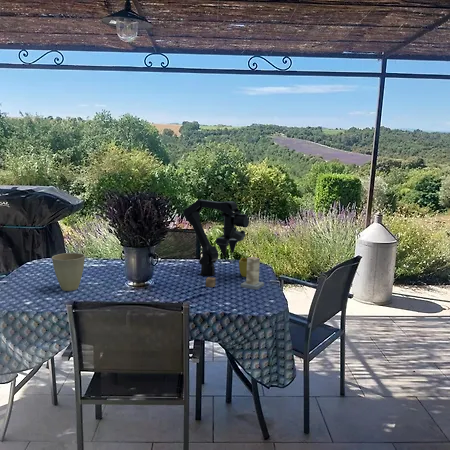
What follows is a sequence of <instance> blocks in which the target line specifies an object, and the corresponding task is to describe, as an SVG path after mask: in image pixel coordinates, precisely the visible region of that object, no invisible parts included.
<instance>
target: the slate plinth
mask: <svg viewBox="0 0 450 450" xmlns="http://www.w3.org/2000/svg"><path fill="white" fill-rule="evenodd" d="M264 286H265V282H263V281H259V283H258V284H255V285H251V284H247V283H246V280H245V281H244V282H242V283H240V288H245V289H250V290H259V289H261V288H262V287H264Z"/></svg>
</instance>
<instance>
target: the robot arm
mask: <svg viewBox="0 0 450 450" xmlns="http://www.w3.org/2000/svg"><path fill="white" fill-rule="evenodd" d="M203 208H205V209H213V210H218V211H219V212H222V214H220V216H219V217H223V227H221V228H222V230H223V234H222V235H221V236H220V237H217V238H216V239H215V244H216V245H217V246H218V247H219V249H220V252H221V253H222V255H223V257H226V255H227V250H228V249H227V248H228V246H229V250H230V253H231V254H234V252H235V249H236V246H237V244H238V243H239V242H242V241H244V239H245V238H246V231H245V230H243V229H242V230H237V229H238V228H237V227H239V228H248V226H249V224H250V220H249V219H250V218H249V217H248V214H246V213H241V211H240V210H239V208H238V205H237V203H236V202H235V201H232V200H231V201H217V200H216V201H214V200H207V199H202V198H201V199H197V200H195V201H194V202H193V203H192V204H190V205H189V206H188V207H186V208H185V209H184V210H183V217H184V219H186V221H187V222H188V223H189V224H190V225H191V226H192V229H193V231H194V233H195V235H196V237H197V240H198V241H199V244H200V246H201V254H202V257H201V258H200V259H199V260H198V262H199V265H200V267H201V269H200V271H201V272H200V273H199V276H206V277H211V276H213V275H216V272H215V267H216V266H215V263H216V261H217V260H218V258H219V251H218V249H217V246H216V245H212V244H211V242H210V241H209V239H208V236H207V233H206V232H205V230H204V227H203V225H202V223H201V216H200V215H201V214H200V213H201V211H202V209H203Z"/></svg>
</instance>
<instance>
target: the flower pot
mask: <svg viewBox="0 0 450 450" xmlns="http://www.w3.org/2000/svg"><path fill="white" fill-rule="evenodd" d="M247 258H248V257H240V259H239V260H238V266H239V267H238V268H239V273H240V275H241V277H244V278H246V277H247Z"/></svg>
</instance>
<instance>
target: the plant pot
mask: <svg viewBox="0 0 450 450" xmlns="http://www.w3.org/2000/svg"><path fill="white" fill-rule="evenodd" d="M85 259H86V255H85V254H84V253H80V252H66V253H59V254H55V255H53V256H51V260H52V261H51V262H52V265H53V266H52V267H53V270H54V273H55V277H56V279H57V282H58V284H59V286H60V289H61V290H62V291H65V292H71V291H76V290H78V289H79V287H80V284H81V280H82V276H83V273H84V268H85V262H86V261H85Z"/></svg>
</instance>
